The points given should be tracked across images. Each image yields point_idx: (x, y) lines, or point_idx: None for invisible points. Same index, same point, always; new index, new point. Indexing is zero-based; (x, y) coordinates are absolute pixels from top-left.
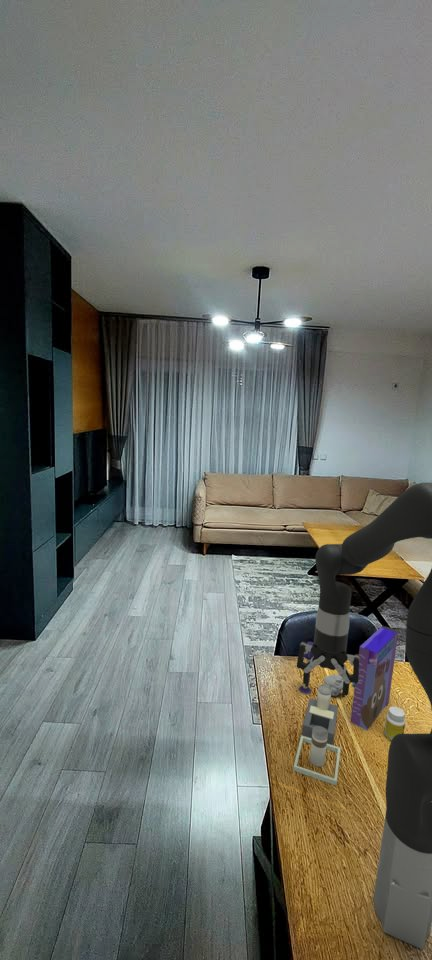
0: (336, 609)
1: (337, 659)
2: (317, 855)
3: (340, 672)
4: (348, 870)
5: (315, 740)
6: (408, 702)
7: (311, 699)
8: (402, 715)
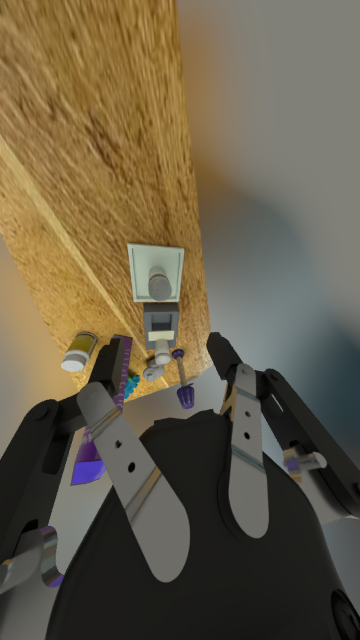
0: None
1: (139, 547)
2: (127, 60)
3: (116, 432)
4: (62, 27)
5: (164, 278)
6: (87, 380)
7: (173, 346)
8: (62, 363)
